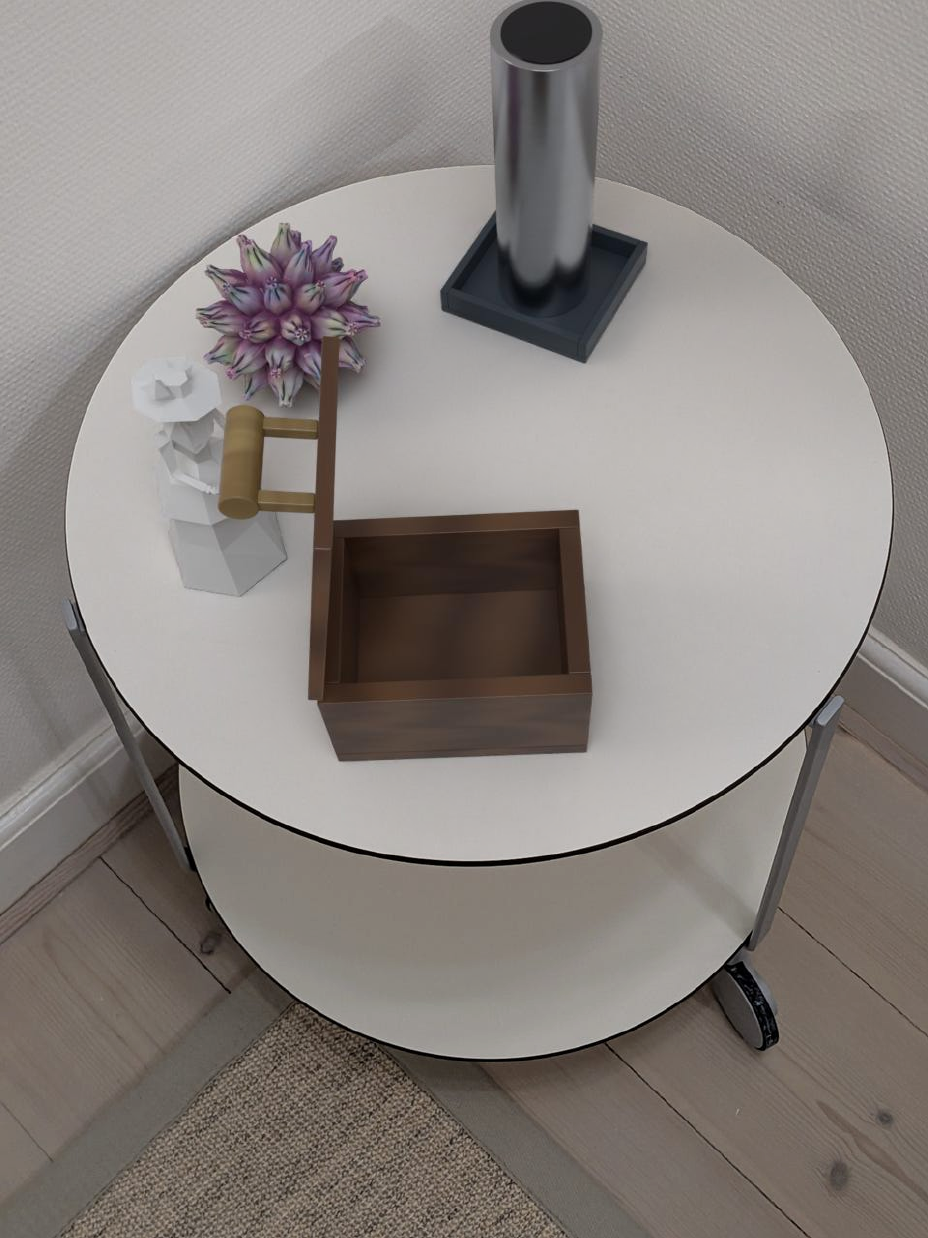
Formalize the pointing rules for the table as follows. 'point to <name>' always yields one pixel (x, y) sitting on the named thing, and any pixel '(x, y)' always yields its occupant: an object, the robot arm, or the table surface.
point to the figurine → (200, 481)
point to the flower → (284, 314)
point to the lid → (247, 498)
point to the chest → (457, 637)
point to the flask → (545, 150)
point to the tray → (565, 334)
